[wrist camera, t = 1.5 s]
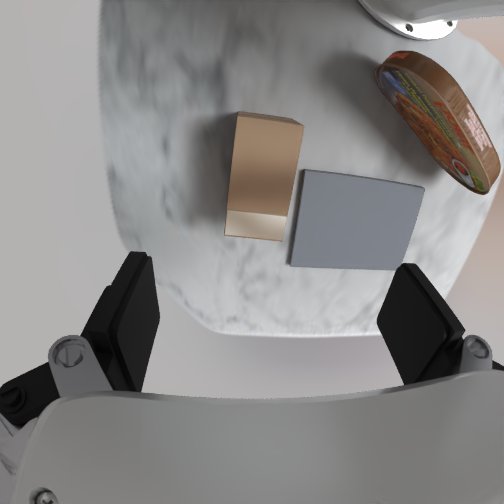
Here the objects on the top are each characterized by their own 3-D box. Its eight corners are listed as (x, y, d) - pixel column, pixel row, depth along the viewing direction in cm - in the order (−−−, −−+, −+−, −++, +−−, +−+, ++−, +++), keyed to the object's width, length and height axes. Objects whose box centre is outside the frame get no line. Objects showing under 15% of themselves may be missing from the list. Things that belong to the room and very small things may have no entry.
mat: (304, 169, 25) (305, 170, 25) (422, 186, 26) (425, 188, 25) (289, 263, 30) (290, 266, 30) (396, 267, 31) (399, 270, 31)
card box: (238, 111, 22) (237, 116, 18) (291, 118, 23) (304, 126, 18) (227, 207, 27) (223, 236, 22) (275, 213, 27) (282, 242, 23)
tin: (359, 69, 20) (407, 65, 13) (379, 49, 19) (432, 40, 12) (446, 179, 26) (496, 212, 18) (462, 160, 24) (514, 188, 17)
